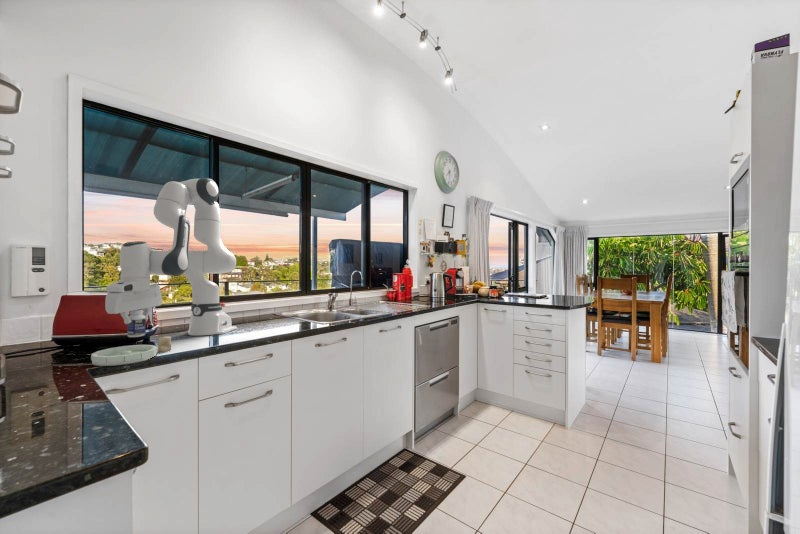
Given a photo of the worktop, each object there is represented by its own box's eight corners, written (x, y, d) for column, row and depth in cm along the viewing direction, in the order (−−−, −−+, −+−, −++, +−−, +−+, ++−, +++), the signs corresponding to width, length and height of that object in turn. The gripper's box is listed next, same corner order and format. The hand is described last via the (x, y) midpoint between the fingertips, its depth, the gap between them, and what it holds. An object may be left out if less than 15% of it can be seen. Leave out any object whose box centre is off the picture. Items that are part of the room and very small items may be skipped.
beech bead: (164, 349, 130) (164, 336, 130) (173, 350, 129) (173, 336, 129) (155, 352, 126) (155, 338, 126) (164, 352, 125) (164, 339, 125)
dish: (127, 351, 126) (127, 344, 126) (168, 353, 124) (168, 345, 124) (77, 364, 110) (77, 355, 110) (123, 367, 107) (123, 358, 107)
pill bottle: (135, 337, 126) (135, 311, 126) (123, 336, 127) (123, 310, 127) (149, 334, 132) (149, 309, 131) (137, 333, 133) (137, 308, 132)
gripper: (152, 282, 139) (153, 316, 140) (101, 287, 119) (102, 327, 120) (166, 282, 138) (166, 316, 139) (116, 287, 118) (117, 327, 119)
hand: (136, 321), depth 129 cm, fingers closed on pill bottle, 5 cm apart
